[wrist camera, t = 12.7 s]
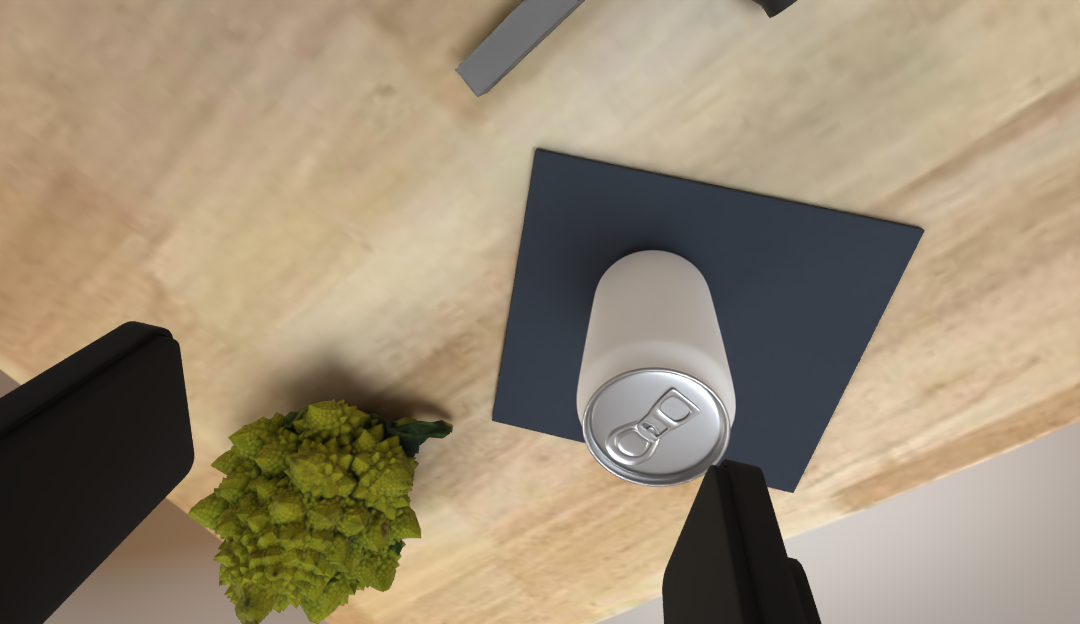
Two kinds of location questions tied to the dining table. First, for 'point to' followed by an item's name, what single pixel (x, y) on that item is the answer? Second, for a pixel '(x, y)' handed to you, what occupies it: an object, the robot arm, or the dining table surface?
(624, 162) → the dining table surface
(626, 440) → the can
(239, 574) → the vegetable
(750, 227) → the mat
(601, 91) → the dining table surface
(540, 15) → the door handle
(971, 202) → the dining table surface
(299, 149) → the dining table surface
